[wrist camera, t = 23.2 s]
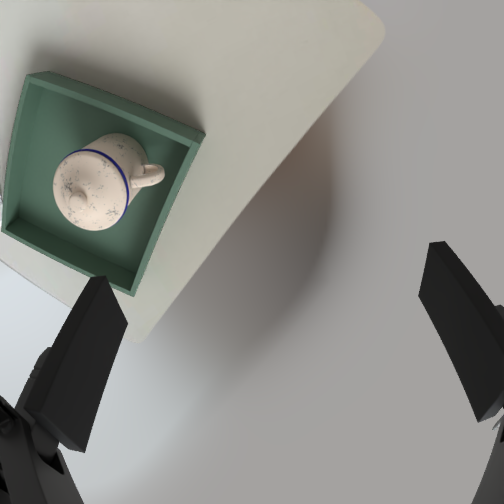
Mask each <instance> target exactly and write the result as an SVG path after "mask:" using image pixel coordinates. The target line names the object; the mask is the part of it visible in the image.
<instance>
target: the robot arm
mask: <svg viewBox="0 0 504 504" xmlns="http://www.w3.org/2000/svg"><path fill="white" fill-rule="evenodd" d="M418 296H419V298H420V300H421V302H422V304H423V305H424V307H425V309H426V311H427V313H428V315H429V317H430V319H431V320H432V322H433V324H434V326H435V328H436V330H437V332H438V334H439V336H440V338H441V340H442V342H443V344H444V346H445V348H446V350H447V352H448V354H449V357H450V359H451V361H452V363H453V365H454V367H455V369H456V372H457V373H458V376H459V378H460V381H461V383H462V385H463V387H464V390H465V392H466V394H467V397H468V399H469V402H470V404H471V407H472V409H473V411H474V414H475V417H476V419H477V422H481V421H483V420H486V419H488V418H491V417H493V416H495V415H496V414H497V413H498V411H499V410H500V409H501V408H502V406H503V409H504V307H503V306H502V305H497V306H494V305H493V303H492V302H491V300H490V299H489V297H488V296H487V295H486V293H485V292H484V291H483V289H482V288H481V286H480V285H479V284H478V282H477V281H476V280H475V278H474V277H473V276H472V274H471V273H470V272H469V270H468V269H467V268H466V267H465V265H464V264H463V263H462V262H461V260H460V259H459V258H458V257H457V255H456V254H455V253H454V252H453V250H452V249H451V248H450V247H449V246H448V244H447V243H446V242H445V241H442V242H433V243H429V249H428V253H427V258H426V263H425V268H424V273H423V278H422V282H421V286H420V291H419V295H418ZM127 325H128V322H127V320H126V318H125V316H124V314H123V312H122V310H121V308H120V306H119V303H118V301H117V299H116V297H115V295H114V293H113V290H112V288H111V286H110V284H109V281H108V279H107V277H106V275H105V276H94V277H91V278H90V279H89V281H88V283H87V284H86V286H85V288H84V289H83V291H82V293H81V294H80V296H79V298H78V300H77V301H76V303H75V305H74V306H73V308H72V310H71V312H70V314H69V315H68V317H67V319H66V321H65V323H64V324H63V326H62V328H61V330H60V332H59V334H58V336H57V337H56V339H55V341H54V343H53V345H52V347H48V348H47V349H46V350H45V351H44V352H43V353H42V354H41V355H40V356H39V358H38V360H37V362H36V364H35V366H34V370H32V372H31V374H30V378H28V380H27V382H26V384H25V386H24V389H23V391H22V393H21V395H20V397H19V399H18V402H17V404H16V406H15V408H13V407H12V406H11V405H10V404H9V403H8V402H7V401H6V400H5V399H4V398H3V397H1V396H0V504H84V503H83V501H82V498H81V496H80V494H79V492H78V490H77V488H76V486H75V484H74V481H73V479H72V477H71V474H70V472H69V470H68V468H67V465H66V463H65V460H64V458H63V455H62V453H61V451H60V450H59V449H58V448H57V447H58V444H59V442H60V443H62V444H63V445H64V446H65V447H66V448H68V449H70V450H74V451H79V452H83V453H85V451H86V447H87V443H88V440H89V437H90V433H91V430H92V426H93V423H94V420H95V416H96V413H97V410H98V407H99V404H100V401H101V398H102V394H103V392H104V389H105V386H106V383H107V380H108V377H109V374H110V371H111V368H112V365H113V362H114V360H115V357H116V354H117V352H118V349H119V346H120V343H121V341H122V338H123V335H124V333H125V330H126V327H127ZM499 425H500V427H499V431H498V434H497V437H496V440H495V444H494V447H493V450H492V453H491V456H490V459H489V461H488V464H487V467H486V470H485V472H484V475H483V478H482V480H481V483H480V485H479V487H478V490H477V492H476V495H475V497H474V499H473V502H472V504H504V415H503V416H502V417H501V418H500V420H499V421H498V422H497V423H496V424H495V426H494V427H493V429H492V430H495V429H496V428H497V427H498V426H499Z"/></svg>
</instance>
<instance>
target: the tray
mask: <svg viewBox="0 0 504 504" xmlns="http://www.w3.org/2000/svg"><path fill="white" fill-rule="evenodd" d="M111 133H121V134H125V135H128V136H130V137H132V138H133V139H135V140H136V141H137V142H138V143H139V144H140V145H141V146H142V148H143V149H144V151H145V153H146V155H147V158H148V163H149V164H158V165H161V166H162V167H163V168H164V173H165V176H164V178H163V180H162V181H160V182H159V183H157V184H154V185H151V186H147V187H142V188H141V189H140V191H139V192H138V193H137V195H136V196H135V197H134V198H133V200H132V201H131V202H130V204H129V205H128V207H127V209H126V212H125V214H124V215H123V217H122V218H121V219H120V220H119V221H118V222H117V223H116V224H115V225H113V226H111V227H109V228H106V229H103V230H97V231H93V230H86V229H83V228H80V227H78V226H76V225H74V224H73V223H71V222H70V221H69V220H68V219H67V218H66V217H65V216H64V215H63V214H62V212H61V211H60V209H59V208H58V206H57V203H56V201H55V197H54V193H53V180H54V175H55V172H56V170H57V168H58V166H59V164H60V162H61V161H62V160H63V159H64V158H65V157H66V156H67V155H68V154H70V153H72V152H74V151H76V150H80V149H82V148H84V147H85V146H87V145H89V144H90V143H92V142H94V141H95V140H97V139H99V138H100V137H102V136H104V135H107V134H111ZM205 136H206V134H204V133H202V132H200V131H198V130H196V129H194V128H191V127H189V126H187V125H185V124H183V123H180V122H178V121H176V120H174V119H171V118H169V117H167V116H164V115H162V114H160V113H157V112H155V111H153V110H150V109H148V108H146V107H143V106H141V105H138V104H136V103H134V102H131V101H129V100H126V99H124V98H121V97H119V96H116V95H113V94H111V93H108V92H106V91H103V90H100V89H98V88H95V87H92V86H90V85H87V84H84V83H81V82H79V81H76V80H73V79H70V78H67V77H64V76H61V75H58V74H55V73H52V72H49V71H46V72H40V73H34V74H29V75H26V78H25V82H24V85H23V89H22V93H21V96H20V100H19V104H18V109H17V113H16V117H15V122H14V127H13V132H12V137H11V143H10V148H9V155H8V161H7V168H6V176H5V185H4V195H3V208H2V226H1V232H3V233H5V234H7V235H8V236H10V237H12V238H14V239H16V240H17V241H19V242H21V243H23V244H25V245H27V246H29V247H30V248H32V249H34V250H36V251H38V252H40V253H42V254H44V255H46V256H48V257H50V258H52V259H54V260H56V261H58V262H60V263H62V264H64V265H66V266H68V267H70V268H72V269H74V270H76V271H78V272H80V273H82V274H84V275H86V276H88V277H90V278H91V277H94V276H105V275H106V277H107V279H108V281H109V284H110V286H111V287H112V288H114V289H116V290H119V291H121V292H123V293H125V294H128V295H130V296H132V297H134V296H135V293H136V291H137V289H138V286H139V284H140V282H141V279H142V277H143V275H144V272H145V269H146V267H147V264H148V262H149V259H150V257H151V254H152V252H153V249H154V247H155V245H156V242H157V240H158V237H159V235H160V233H161V230H162V228H163V226H164V223H165V221H166V219H167V216H168V214H169V212H170V209H171V207H172V205H173V203H174V201H175V198H176V196H177V194H178V192H179V189H180V187H181V185H182V183H183V181H184V179H185V177H186V174H187V172H188V170H189V168H190V166H191V164H192V162H193V160H194V158H195V156H196V154H197V152H198V150H199V147H200V145H201V143H202V141H203V139H204V137H205Z"/></svg>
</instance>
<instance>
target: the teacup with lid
mask: <svg viewBox="0 0 504 504" xmlns="http://www.w3.org/2000/svg"><path fill="white" fill-rule="evenodd" d="M164 176H165V173H164V168H163V167H162V166H161V165H158V164H149V163H148V158H147V155H146V153H145V151H144V149H143V148H142V146H141V145H140V144H139V143H138V142H137V141H136V140H135V139H133V138H132V137H130V136H128V135H125V134H121V133H111V134H107V135H104V136H102V137H100V138H99V139H97V140H95V141H94V142H92V143H90V144H89V145H87V146H85V147H84V148H82V149H80V150H76V151H74V152H72V153H70V154H68V155H67V156H66V157H65V158H64V159H63V160H62V161H61V162H60V164H59V166H58V168H57V170H56V172H55V175H54V180H53V193H54V197H55V201H56V203H57V206H58V208H59V209H60V211H61V212H62V214H63V215H64V216H65V217H66V218H67V219H68V220H69V221H70V222H71V223H73V224H74V225H76V226H78V227H80V228H83V229H86V230H93V231H97V230H103V229H106V228H109V227H111V226H113V225H115V224H116V223H117V222H118V221H119V220H120V219H121V218H122V217H123V215H124V214H125V212H126V209H127V207H128V205H129V204H130V202H131V201H132V200H133V198H134V197H135V196H136V195H137V193H138V192H139V191H140V189H141V188H142V187H147V186H151V185H154V184H157V183H159V182H160V181H162V180H163V178H164Z"/></svg>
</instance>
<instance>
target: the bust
mask: <svg viewBox="0 0 504 504" xmlns="http://www.w3.org/2000/svg"><path fill="white" fill-rule="evenodd" d="M2 208H3V203H2V200H1V193H0V227H1V226H2Z"/></svg>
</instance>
